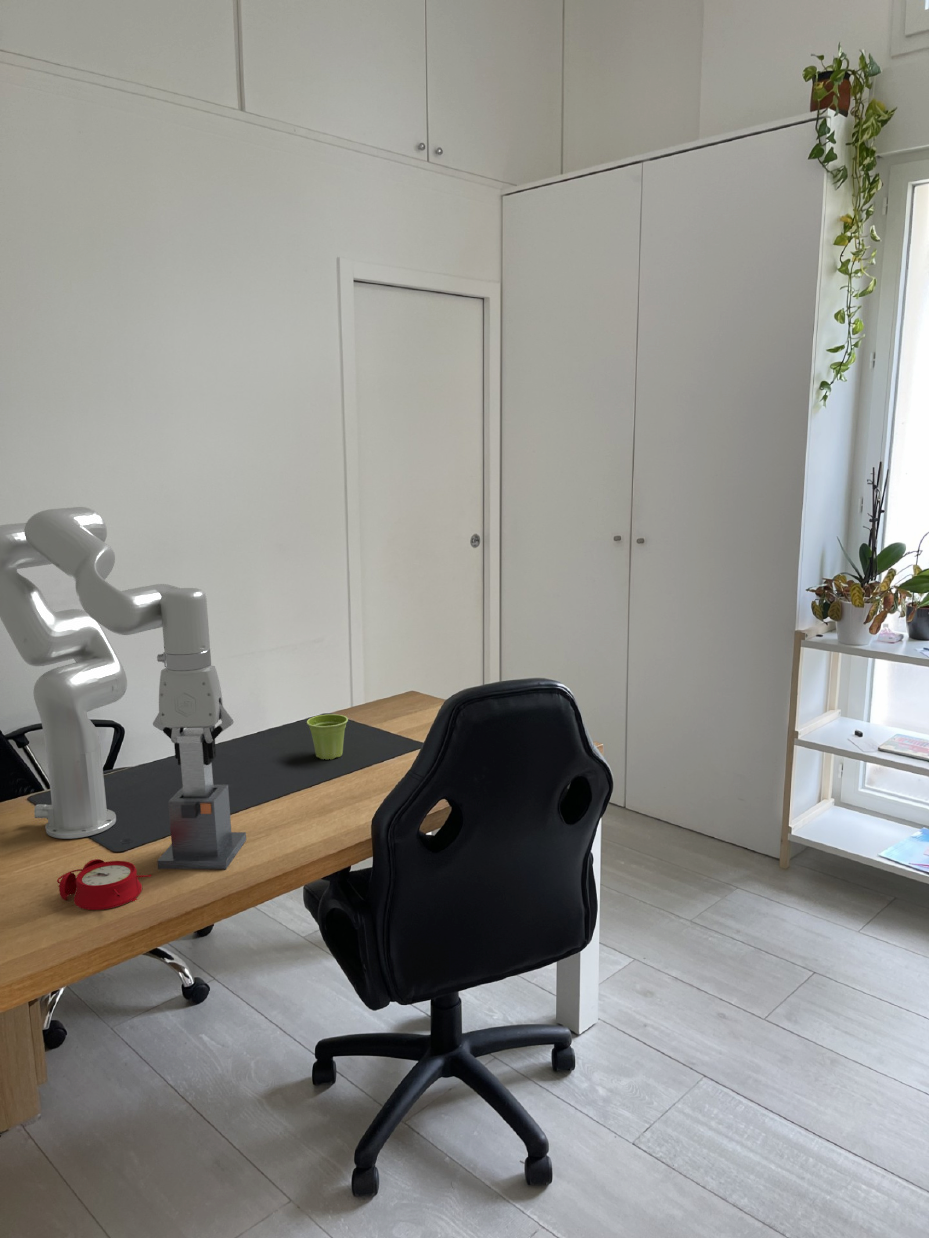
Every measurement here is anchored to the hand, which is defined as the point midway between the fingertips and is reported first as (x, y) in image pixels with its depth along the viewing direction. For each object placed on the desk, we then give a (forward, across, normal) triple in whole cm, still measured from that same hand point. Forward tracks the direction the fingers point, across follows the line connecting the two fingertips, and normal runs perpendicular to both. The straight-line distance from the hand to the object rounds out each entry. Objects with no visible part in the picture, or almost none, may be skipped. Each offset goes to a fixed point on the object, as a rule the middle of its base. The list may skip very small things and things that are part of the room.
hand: (196, 761), depth 163 cm
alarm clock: (+18, -12, -15) cm, 26 cm away
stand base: (+17, 0, 0) cm, 17 cm away
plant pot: (+17, +12, +53) cm, 57 cm away
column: (+16, 0, 0) cm, 16 cm away
